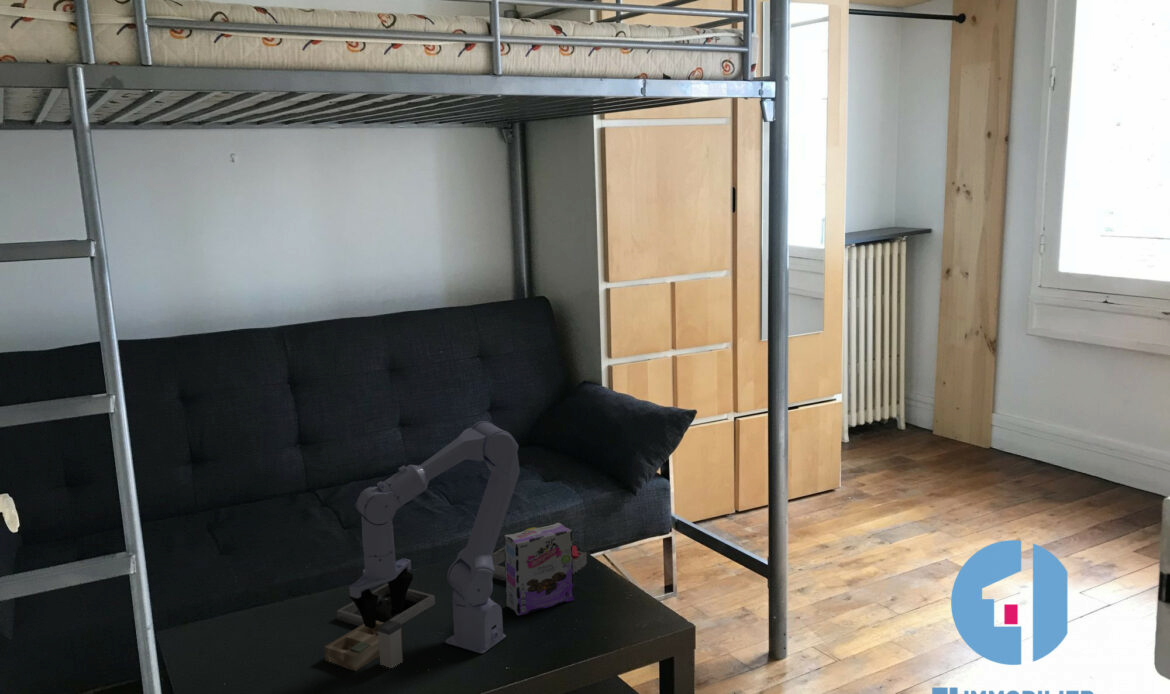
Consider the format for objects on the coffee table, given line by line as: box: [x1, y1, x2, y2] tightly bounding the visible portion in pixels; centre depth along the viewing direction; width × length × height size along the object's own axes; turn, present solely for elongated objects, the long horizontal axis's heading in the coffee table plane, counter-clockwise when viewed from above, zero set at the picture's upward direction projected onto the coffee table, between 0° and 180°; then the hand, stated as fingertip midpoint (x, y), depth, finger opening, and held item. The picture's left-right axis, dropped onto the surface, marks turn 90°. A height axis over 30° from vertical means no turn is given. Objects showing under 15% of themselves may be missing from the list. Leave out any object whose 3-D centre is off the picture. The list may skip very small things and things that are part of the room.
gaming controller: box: [376, 595, 419, 623], centre depth 205 cm, size 10×5×6 cm
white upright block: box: [378, 620, 404, 669], centre depth 182 cm, size 3×3×8 cm
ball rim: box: [492, 545, 588, 582], centre depth 224 cm, size 20×17×3 cm
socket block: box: [323, 620, 403, 672], centre depth 188 cm, size 8×13×3 cm, turn 149°
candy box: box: [503, 522, 575, 616], centre depth 205 cm, size 14×6×16 cm, turn 120°
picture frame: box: [336, 582, 436, 627], centre depth 205 cm, size 14×16×2 cm
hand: (384, 618), depth 182 cm, fingers open, 7 cm apart
